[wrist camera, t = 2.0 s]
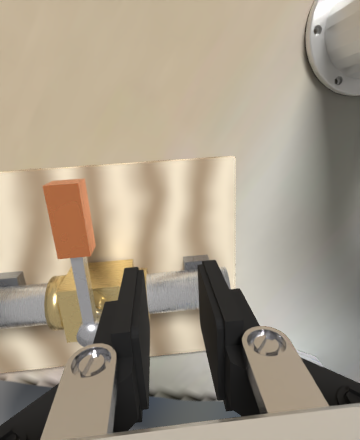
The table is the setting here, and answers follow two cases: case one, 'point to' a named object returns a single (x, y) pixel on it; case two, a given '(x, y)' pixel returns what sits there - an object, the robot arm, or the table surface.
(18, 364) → the valve board
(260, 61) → the table surface
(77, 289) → the valve handle
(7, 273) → the pipe and valve
